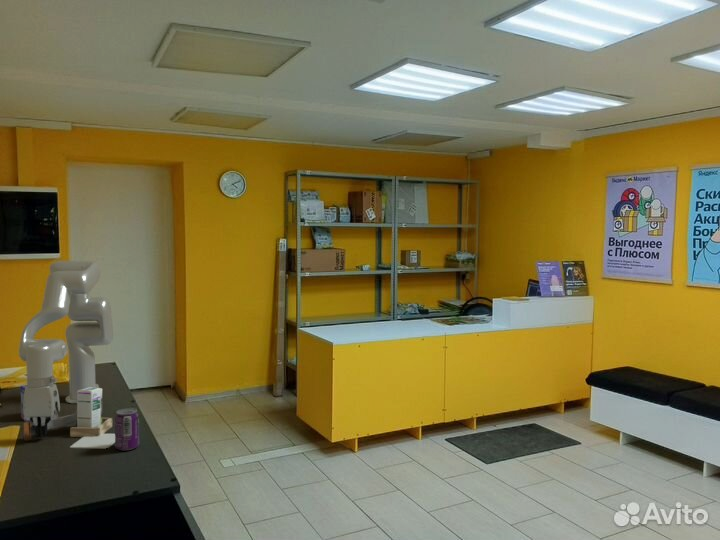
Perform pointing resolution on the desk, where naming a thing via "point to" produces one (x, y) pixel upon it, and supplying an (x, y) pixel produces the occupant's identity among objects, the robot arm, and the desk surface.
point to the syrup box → (89, 407)
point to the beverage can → (126, 429)
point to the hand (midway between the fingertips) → (41, 436)
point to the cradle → (92, 429)
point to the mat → (95, 441)
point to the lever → (50, 424)
